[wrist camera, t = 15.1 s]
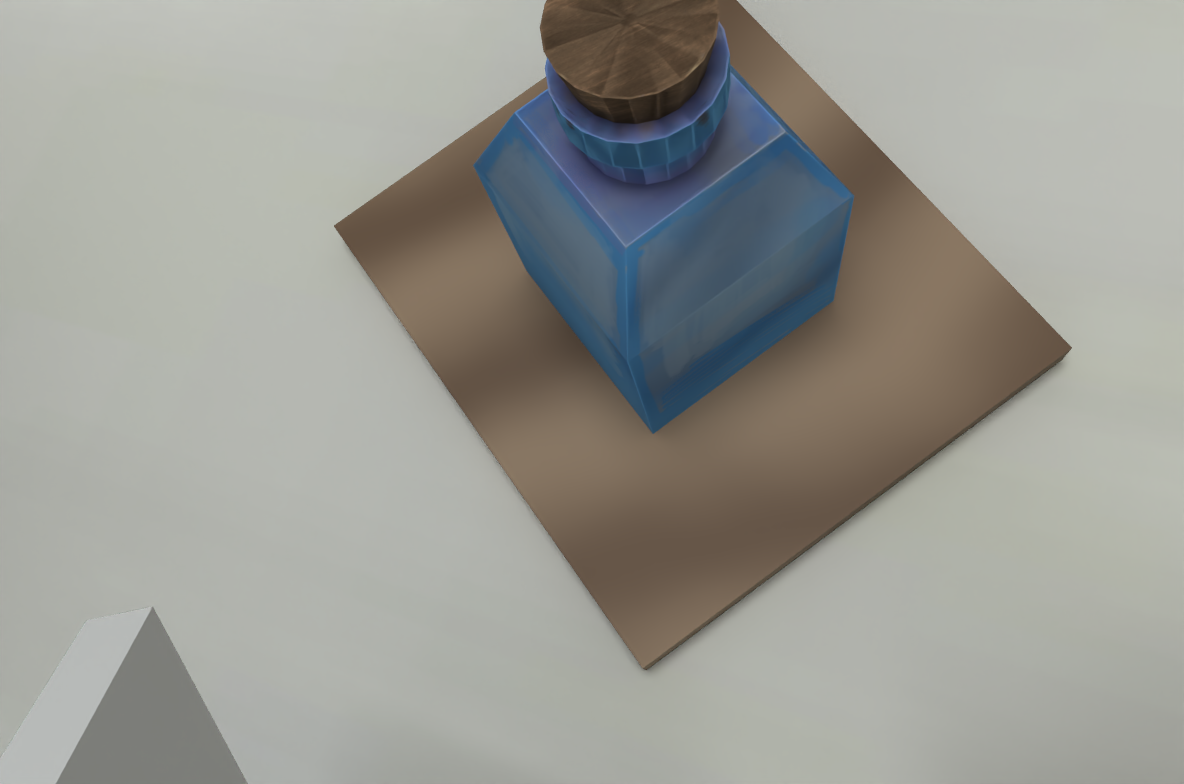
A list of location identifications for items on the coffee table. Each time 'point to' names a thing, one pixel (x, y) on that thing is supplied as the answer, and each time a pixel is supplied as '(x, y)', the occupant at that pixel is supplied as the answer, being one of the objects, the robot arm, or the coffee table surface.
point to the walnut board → (734, 408)
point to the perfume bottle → (663, 200)
